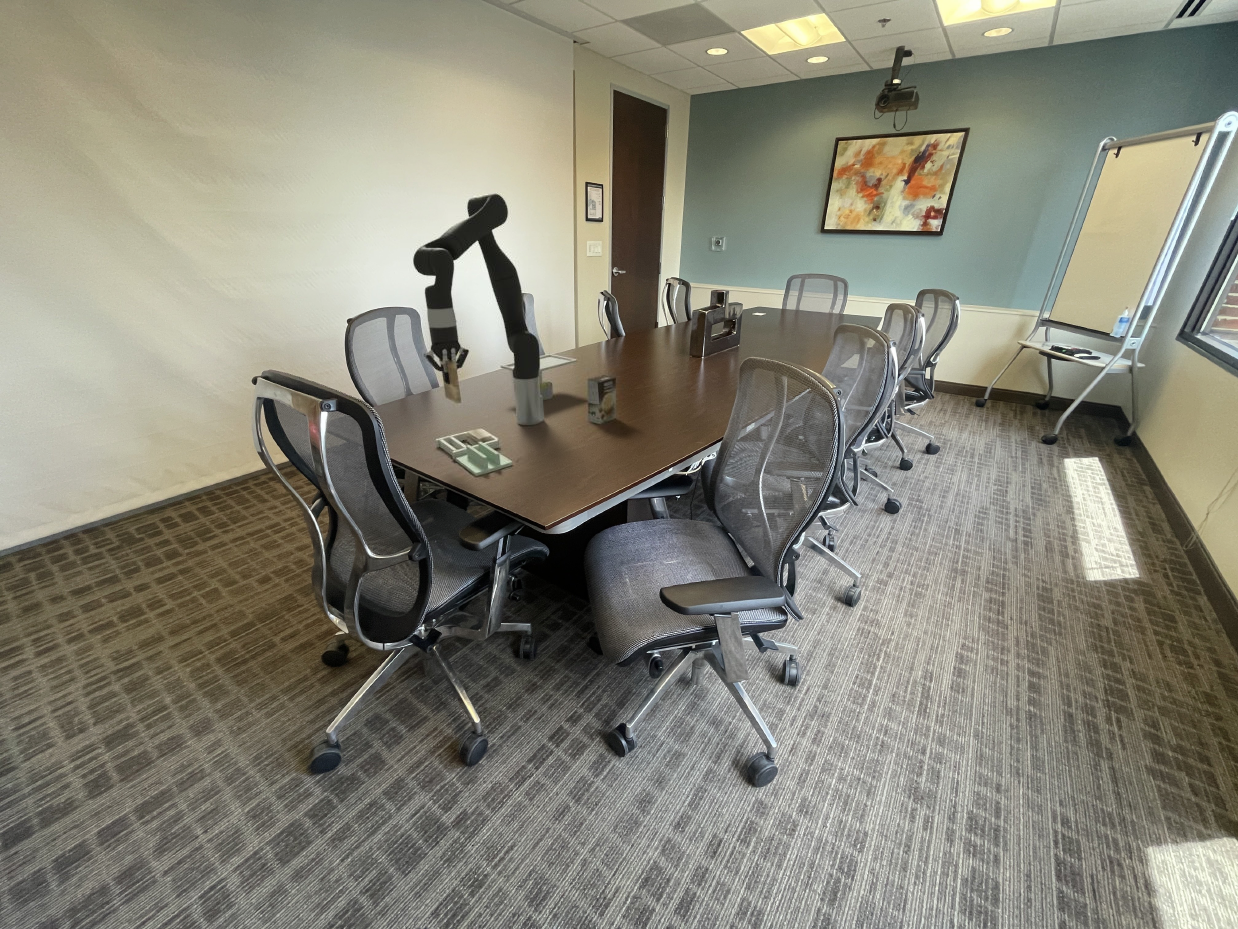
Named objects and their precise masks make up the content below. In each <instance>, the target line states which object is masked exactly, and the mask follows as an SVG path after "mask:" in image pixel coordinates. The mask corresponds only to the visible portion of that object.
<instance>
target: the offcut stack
mask: <svg viewBox="0 0 1238 929" xmlns="http://www.w3.org/2000/svg"><path fill="white" fill-rule="evenodd" d="M481 429H482V428H476V430H475V429H472V431H471V430H468V432H467V431H466V432H467V434H468V435H467V440H466V442H468V443H469V445H471V446H474V445H478V442H482V443H485V442H489V441H491V439H492V438H491V435H492V434H491V435H489V434H488V433H489V432H488V433H486V432H487V431H486V432H484V431H483V430H484V429H483V430H481Z"/></svg>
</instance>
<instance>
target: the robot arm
mask: <svg viewBox="0 0 1238 929" xmlns="http://www.w3.org/2000/svg"><path fill="white" fill-rule="evenodd" d="M466 209H467V213H468V214H467V215H468V217H467V218H466V219H463V220H461V221H459V222H458V223H456V224H454V225H453V226H451V227H450V228H448V229H447V230H446V231H445V232H444V233H443V234H442V235H440V236H439V237H437V238H435V239H434V240H431V241H429V242H427V243H425V244H423V245H422V246H420V247H418V248H417V249H416V251H415V253H414V255H413V257H412V258H413V259H412V260H413V261H412V262H413V264H412V265H413V267H414V268H415V270H416V272H418V273H419V274H420V275H423V276H427V277H435V278H434V283H433V284H431V285H428V286H426V287H425V289H424V297H425V304H426V309H427V310H426V312H427V315H426V316H427V324H428V329H429V336H430V342H431V345H430V350H429V351H427V353H426V352H425V353H424V354H423V357H424V358H425V360H427V361H428V363H429V364H430V365H431V366H432V368H434V369H435V370H436V371H438V372H441V373H442V374H443V375H442V381H443V380H444V382H445V383H446V384H448V385H449V384H450V380H449V373H448V360H450V361H452V362H455V363H456V366H457V370H459V369H462V368H463V366H464V363H465V362H466V361H467V360H466V359H467V357H468V355H469V353H470V350H469V349H468V348H465V347H462V345H461V344H460V342H459V334H458V327H457V319H456V313H455V311H454V310H455V309H454V303H453V297H452V289H453V288H452V287H453V282H454V281H453V280H454V274H455V263H454V261H456V260H458V259H460V258H461V257H462V256H463V255H464V254H465V253H466V252H467V251H468V249H469V248H471V247H472V246H473V245H474V244H475V243H477V242H478V245H479V248H480V250H481V253H482V257H483V260H484V263H485V266H486V269H487V273H488V277H489V278H488V279H489V281H490V285H491V288H492V292H493V294H494V297H495V301H496V303H497V306H498V309H499V311H500V314H501V318H502V322H503V325H504V330H505V335H506V342H507V346H508V348H509V350H510V351H511V353H513V361H514V362H513V363H514V368H513V371H512V381H513V391H514V392H513V393H514V402H515V404H514V405H515V414H516V422H517V424H518V425H522V426H535V425H537V424H540V423H542V422H543V421H545V415H544V414H545V412H544V400H543V397H542V396H541V395H540V384H539V369H540V356H541V354H540V344H539V343H540V342H539V340H538V338H537V337H536V335H534V334H533V333H532V332H530V330H529V328H528V325H527V323H526V319H525V316H524V313H523V292H522V290H523V289H522V286H521V282H520V278H519V277H520V276H519V274H518V271H517V268H516V266H515V265H514V263H513V262H512V261H511V259H510V258H509V257H508V255H506V253H505V252H504V251H503V250H502V249H501V248H500V246H499V244H498V243H497V240H496V238H495V235H494V233H493V230H494V229H497V228H499V227H500V226H503V225H504V224H505V223H506V221H507V219H508V216H509V209H508V205H507V202H506V200H505V199H504V198H503V196H501V195H500V194H498V193H492V192H491V193H486V194H481V195H475V196H472V197H470V198H469V199H468V202H467V207H466ZM458 353H459V355H458ZM435 356H436V357H437V358H438V361H439V362H437V361H436V360H435ZM457 356H458V357H457ZM438 363H439V364H438ZM444 382H443V383H444Z"/></svg>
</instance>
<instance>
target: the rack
mask: <svg viewBox="0 0 1238 929" xmlns="http://www.w3.org/2000/svg"><path fill="white" fill-rule="evenodd" d="M476 429H477V428H476ZM476 429H474V430H476ZM480 429H481V430H483V431H484V432H486V433H488V434H489V435H491V438H492V439H491V441H489V442H485V443H484V444H486V445H487V446H489V447H490V448H492V449H493V450H495V449H498V448H500V441H499V438H498V437H497V436H495V435H493V434H491V433H490V432H488V431H486V430H484V429H483V428H480ZM472 430H473V429H472ZM472 430H470V431H472ZM468 431H469V430H468ZM468 431H465V432H460V433H456V434H452V435H451V434H450V435H448V436H443V437H440V438H436V439H435V445H436V447H437V448H441V449H442V450H444V451H445V452H447V453H448V454H449V455H451V456H452V459H453V460H455V461H456V459H455V458H457V457H460V456H464V455H467V449H466V445H465V444H464V443H462V442H464V441H467V435H468V434H467V432H468ZM463 440H464V441H463ZM471 446H472V447H473V448H475V449H476V450H478V451H479V446H478V445H474V446H473V445H471Z"/></svg>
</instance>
